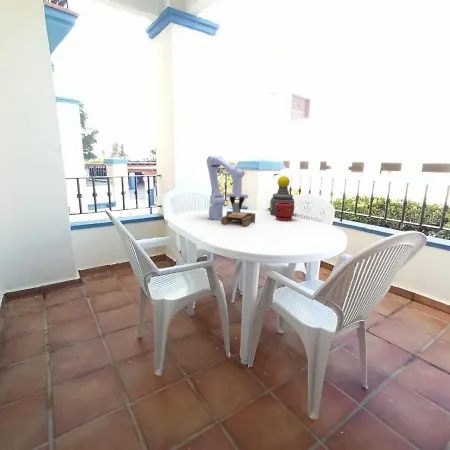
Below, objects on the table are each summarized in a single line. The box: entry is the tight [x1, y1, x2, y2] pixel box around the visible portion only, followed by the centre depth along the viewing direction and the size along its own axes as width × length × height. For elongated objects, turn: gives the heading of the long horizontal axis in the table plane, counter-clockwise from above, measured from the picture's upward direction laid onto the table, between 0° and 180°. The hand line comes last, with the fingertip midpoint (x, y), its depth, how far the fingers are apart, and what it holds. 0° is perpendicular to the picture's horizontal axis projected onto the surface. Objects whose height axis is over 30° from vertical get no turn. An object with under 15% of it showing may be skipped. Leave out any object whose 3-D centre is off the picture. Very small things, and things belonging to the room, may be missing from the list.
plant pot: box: [275, 202, 295, 222], centre depth 197 cm, size 13×13×12 cm
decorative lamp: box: [269, 175, 295, 217], centre depth 213 cm, size 19×19×30 cm
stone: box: [232, 202, 241, 213], centre depth 180 cm, size 4×4×6 cm
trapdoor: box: [228, 213, 247, 218], centre depth 184 cm, size 10×10×1 cm
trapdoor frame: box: [221, 210, 256, 228], centre depth 185 cm, size 20×16×6 cm
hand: (236, 208), depth 181 cm, fingers closed on stone, 4 cm apart
